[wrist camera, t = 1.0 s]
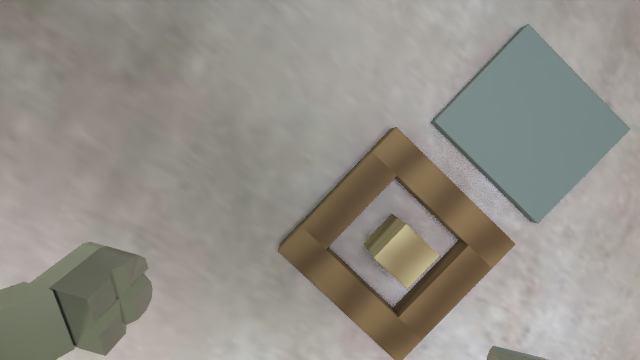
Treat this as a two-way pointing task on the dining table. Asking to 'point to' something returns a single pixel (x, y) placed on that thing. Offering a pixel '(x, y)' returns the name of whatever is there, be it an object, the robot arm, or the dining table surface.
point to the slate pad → (530, 124)
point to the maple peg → (400, 250)
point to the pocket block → (437, 285)
